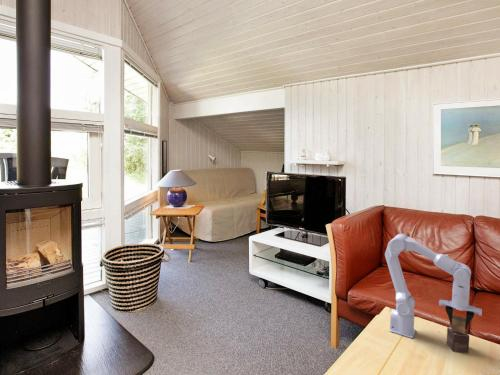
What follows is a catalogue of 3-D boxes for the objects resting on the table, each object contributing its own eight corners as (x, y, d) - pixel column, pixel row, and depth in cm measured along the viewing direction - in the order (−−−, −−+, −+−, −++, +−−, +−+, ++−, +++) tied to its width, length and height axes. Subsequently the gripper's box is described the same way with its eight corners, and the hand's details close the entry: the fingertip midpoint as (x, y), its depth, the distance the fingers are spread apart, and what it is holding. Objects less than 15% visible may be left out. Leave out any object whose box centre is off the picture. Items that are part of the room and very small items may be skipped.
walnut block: (451, 330, 128) (452, 318, 128) (452, 325, 132) (453, 314, 132) (464, 334, 126) (465, 322, 125) (465, 329, 129) (466, 317, 129)
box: (468, 353, 126) (470, 336, 125) (452, 351, 127) (453, 334, 127) (461, 344, 132) (463, 328, 131) (446, 342, 133) (447, 326, 133)
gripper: (438, 293, 129) (436, 324, 130) (482, 303, 120) (480, 336, 121) (440, 287, 134) (439, 317, 136) (482, 296, 125) (480, 328, 127)
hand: (458, 326), depth 129 cm, fingers closed on walnut block, 4 cm apart
